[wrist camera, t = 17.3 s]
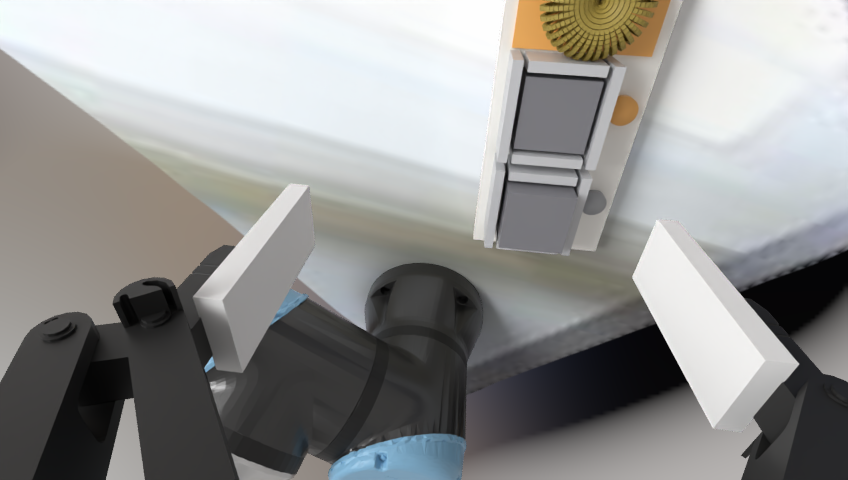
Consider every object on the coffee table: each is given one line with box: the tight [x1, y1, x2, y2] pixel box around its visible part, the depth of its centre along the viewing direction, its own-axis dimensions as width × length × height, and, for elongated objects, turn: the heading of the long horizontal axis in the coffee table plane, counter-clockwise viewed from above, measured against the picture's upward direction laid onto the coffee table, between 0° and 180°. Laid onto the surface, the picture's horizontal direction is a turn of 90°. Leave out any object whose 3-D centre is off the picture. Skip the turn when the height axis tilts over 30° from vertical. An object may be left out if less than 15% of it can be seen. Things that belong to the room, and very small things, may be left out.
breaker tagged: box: [511, 67, 604, 154], centre depth 34 cm, size 6×6×4 cm
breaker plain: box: [497, 175, 578, 254], centre depth 38 cm, size 6×6×4 cm
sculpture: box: [540, 0, 659, 61], centre depth 29 cm, size 8×4×8 cm
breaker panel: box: [473, 0, 683, 256], centre depth 35 cm, size 28×13×6 cm, turn 177°
